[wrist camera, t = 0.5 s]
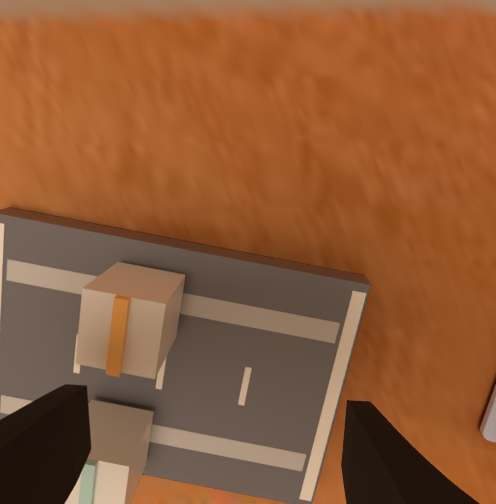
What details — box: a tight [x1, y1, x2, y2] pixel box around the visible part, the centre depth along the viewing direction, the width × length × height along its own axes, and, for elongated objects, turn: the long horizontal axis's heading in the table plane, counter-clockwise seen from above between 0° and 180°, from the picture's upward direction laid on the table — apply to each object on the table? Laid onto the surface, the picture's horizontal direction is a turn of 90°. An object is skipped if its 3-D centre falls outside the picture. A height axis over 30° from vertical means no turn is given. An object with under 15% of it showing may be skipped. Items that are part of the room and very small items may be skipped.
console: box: [0, 207, 371, 504], centre depth 21 cm, size 17×12×2 cm
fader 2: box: [65, 400, 154, 504], centre depth 19 cm, size 3×3×4 cm
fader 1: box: [75, 262, 186, 379], centre depth 17 cm, size 3×3×4 cm
